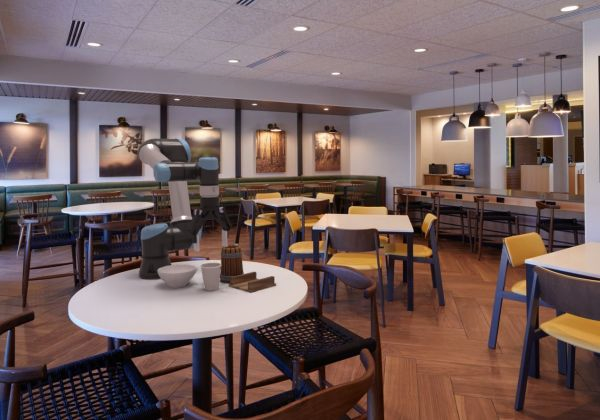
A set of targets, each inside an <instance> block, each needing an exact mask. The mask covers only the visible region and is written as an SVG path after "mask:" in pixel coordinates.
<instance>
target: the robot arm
mask: <svg viewBox="0 0 600 420" xmlns="http://www.w3.org/2000/svg"><path fill="white" fill-rule="evenodd" d="M138 146H139V147H138V148H137V157H138V158H139V160H140V161H141V162H142V163H143V164H145V165H148V166H149V167H150V168H151V169H152V171H153V178H154V180H155V181H156V182H160V183H161V182H162V183H168V192H169V199H170V200H169V201H170V207H171V214H172V216H171V217H172V220H171V221H170V222H169V225H168V223H165V222H164V223H163V222H162V223H155V224H150V225H147V226H144V227H143V228H142V229H141V232H140V241H141V258H142V259H141V263H140V267H139V270H138V278H140V279H143V280H159V279H161V278H160V276H159V275H158V271H157V270H158V269H159V268H161V267H165V266H170V265H172V261H171V259H170V255H169V254H170V253H169V252H175V251H184V250H192V249H193V251H194V252H197V253H199V252H201V250H200V243H201V240H202V239H201V238H202V227H203V226H204V224H205V222H207V221H209V220H215V221H216V222H217V223H218V225H219V226H220V227H221V228H222V230H221V247H222V246H224V247H228V245H229V244H228V239H229V231H231V229H233V225H232V223H231V220H230V217H229V216H228V214H227V209H226V207H225V206H220V197H219V195H220V184H219V182H220V181H219V177H220V176H219V168H220V167H219V161H218V160H219V159H218V158H217V157H211V156H210V157H206V156H205V157H200V158H199V159H198V161H197V162H196V161H195V162H191V159H192V157H191V156H192V152H191V148H190V145H189V143H188V142H187V141H186V140H185V139H182V138H149V139H146V140H145V141H143V142H142V143H140V145H138ZM188 182H199V196H200V197H199V204H200V205H199V206H200V209H193V215H192V213H191V212H192V211H191V205H190V195H189V189H188V188H189V187H188ZM219 213H220V214H219Z"/></svg>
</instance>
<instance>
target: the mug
mask: <svg viewBox="0 0 600 420" xmlns="http://www.w3.org/2000/svg"><path fill="white" fill-rule="evenodd" d="M220 264H221V270H220V281H221V282H222V283H224V284H230V277H233V276H238V275H242V274H245V272H244V265H243V252H242V247H241V245H240V243H234V244H228V247H224V246H222V245H221V251H220Z"/></svg>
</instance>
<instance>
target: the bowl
mask: <svg viewBox="0 0 600 420" xmlns="http://www.w3.org/2000/svg"><path fill="white" fill-rule="evenodd" d="M157 271H158V275H159V276H160V279H161V280H162V281H163V282H164V283H165V284H166V285H167V286H168V287H170V288H182V287H186V286H187V285H188V283H189V282H190V281H191V280H192V278H193V277H194V276H195V274H196V272H197V265H193V264H186V263H185V264H182V263H181V264H171V265H170V266H165V267H161V268H159V269H158V270H157Z"/></svg>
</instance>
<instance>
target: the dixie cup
mask: <svg viewBox="0 0 600 420" xmlns="http://www.w3.org/2000/svg"><path fill="white" fill-rule="evenodd" d="M200 268H201V275H202V281H203V287H204V291H206V292H214V291H218V290H219V288H220V281H221V280H220V272H221V262H206V263H202V264H201V265H200Z"/></svg>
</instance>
